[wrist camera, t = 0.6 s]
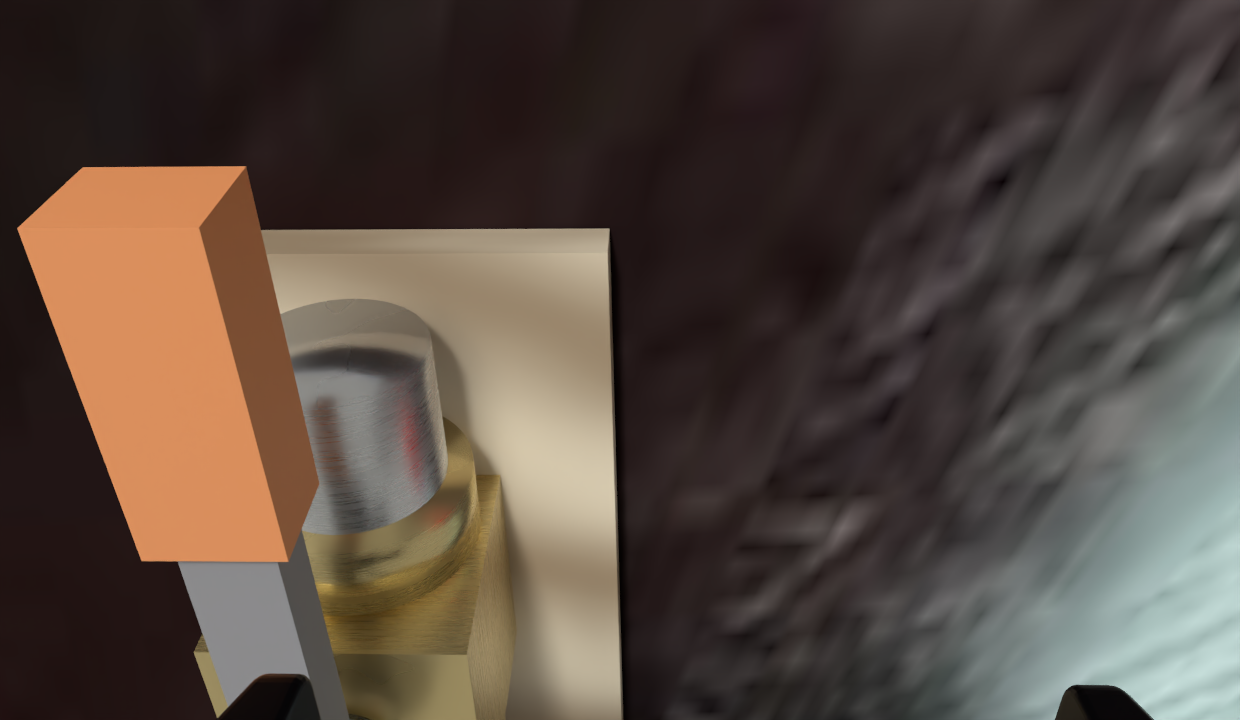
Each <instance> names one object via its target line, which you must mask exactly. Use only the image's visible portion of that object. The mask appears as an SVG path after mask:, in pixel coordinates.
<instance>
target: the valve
mask: <svg viewBox="0 0 1240 720" xmlns="http://www.w3.org/2000/svg"><path fill="white" fill-rule="evenodd" d="M280 315H281V319H282V324H283V328H284V332H285V337H286V341H287V345H288V350H289V354H290V358H291V362H292V367H293V371H294V375H295V380H296V384H297V388H298V393H299V397H300V401H301V406H302V410H303V414H304V419H305V423H306V427H307V431H308V436H309V440H310V444H311V449H312V453H313V457H314V462H315V466H316V470H317V475H318V479H319V483H320V484H319V486H318V489H317V491H316V494H315V496H314V499H313V501H312V504H311V506H310V509H309V511H308V514H307V517H306V519H305V522H304V524H303V527H302V533H303V536H304V540H305V544H306V548H307V552H308V556H309V560H310V564H311V568H312V572H313V576H314V580H315V584H316V588H317V592H318V596H319V600H320V604H321V608H322V612H323V616H324V620H325V624H326V628H327V632H328V636H329V640H330V644H331V648H332V651H333V655H334V659H335V663H336V667H337V671H338V675H339V679H340V683H341V687H342V691H343V695H344V699H345V703H346V707H347V711H348V715H349V719H350V720H506V718H505V713H506V706H507V699H508V692H509V685H510V678H511V670H512V663H513V656H514V649H515V642H516V635H517V627H516V617H515V608H514V599H513V589H512V580H511V571H510V561H509V552H508V543H507V533H506V524H505V515H504V505H503V496H502V487H501V477H500V475H475V467H474V459H473V452H472V449H471V446H470V443H469V441H468V440H467V438H466V436H465V435H464V433H463V432H462V431H461V430H460V429H459V428H458V427H457V426H456V425H455V424H454V423H452V422H451V421H450V420H448V419H446V418H445V417H442V412H441V405H440V398H439V391H438V383H437V376H436V369H435V362H434V355H433V348H432V341H431V335H430V331H429V329H428V327H427V325H426V323H425V322H424V321H423V320H422V319H421V318H420V317H419V316H418V315H416V314H415V313H414V312H412V311H410V310H408V309H406V308H404V307H401V306H399V305H396V304H392V303H389V302H384V301H379V300H370V299H340V300H330V301H324V302H318V303H314V304H309V305H305V306H302V307H298V308H295V309H292V310H289V311H287V312H284V313H282V314H280ZM194 654H195V657H196V660H197V663H198V665H199V668H200V671H201V674H202V676H203V679H204V682H205V685H206V688H207V690H208V693H209V696H210V699H211V701H212V704H213V707H214V710H215V713H216V715H217V718H218V717H219V716H220V715H221V714H222V713H223V712H224V711H225V710H226V709H227V708H228V705H227V702H226V699H225V696H224V693H223V690H222V688H221V685H220V682H219V679H218V676H217V673H216V670H215V668H214V665H213V662H212V659H211V656H210V653H209V650H208V647H207V645H206V642H205V639H204V636H203V633H202V635H201V638H200V640H199V642H198V644H197V646H196V649H195V651H194Z"/></svg>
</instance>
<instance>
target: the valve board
mask: <svg viewBox="0 0 1240 720" xmlns="http://www.w3.org/2000/svg"><path fill="white" fill-rule="evenodd" d="M261 233H262V237H263V242H264V246H265V250H266V255H267V259H268V263H269V268H270V272H271V276H272V281H273V285H274V289H275V293H276V298H277V302H278V306H279V311H280V314H282V313H284V312H287V311H289V310H292V309H295V308H298V307H302V306H305V305H309V304H314V303H318V302H324V301H330V300H340V299H370V300H379V301H384V302H389V303H392V304H396V305H399V306H401V307H404V308H406V309H408V310H410V311H412V312H414V313H415V314H416V315H418V316H419V317H420V318H421V319H422V320H423V321H424V322H425V323H426V325H427V327H428V329H429V331H430V335H431V341H432V348H433V355H434V362H435V369H436V376H437V383H438V391H439V398H440V405H441V412H442V417H445V418H446V419H448V420H450V421H451V422H452V423H454V424H455V425H456V426H457V427H458V428H459V429H460V430H461V431H462V432H463V433H464V435H465V436H466V438H467V440H468V441H469V443H470V446H471V449H472V452H473V459H474V467H475V475H500V477H501V487H502V496H503V505H504V515H505V524H506V533H507V543H508V552H509V561H510V571H511V580H512V589H513V599H514V608H515V617H516V627H517V635H516V642H515V649H514V656H513V663H512V670H511V678H510V685H509V692H508V699H507V706H506V713H505V718H506V720H623V691H622V655H621V619H620V584H619V548H618V512H617V476H616V440H615V404H614V368H613V332H612V296H611V261H610V229H405V230H261Z"/></svg>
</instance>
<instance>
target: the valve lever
mask: <svg viewBox="0 0 1240 720" xmlns="http://www.w3.org/2000/svg"><path fill="white" fill-rule="evenodd" d="M17 229H18V232H19V234H20V237H21V240H22V242H23V245H24V248H25V250H26V253H27V256H28V258H29V261H30V264H31V266H32V269H33V272H34V274H35V277H36V280H37V282H38V285H39V288H40V290H41V293H42V296H43V298H44V301H45V304H46V306H47V309H48V312H49V314H50V317H51V320H52V322H53V325H54V328H55V330H56V333H57V336H58V338H59V341H60V344H61V346H62V349H63V352H64V354H65V357H66V360H67V363H68V365H69V368H70V371H71V373H72V376H73V379H74V381H75V384H76V387H77V389H78V392H79V395H80V397H81V400H82V403H83V405H84V408H85V411H86V413H87V416H88V419H89V421H90V424H91V427H92V429H93V432H94V435H95V437H96V440H97V443H98V445H99V448H100V451H101V453H102V456H103V459H104V461H105V464H106V467H107V469H108V472H109V475H110V477H111V480H112V483H113V486H114V488H115V491H116V494H117V496H118V499H119V502H120V504H121V507H122V510H123V512H124V515H125V518H126V520H127V523H128V526H129V528H130V531H131V534H132V536H133V539H134V542H135V544H136V547H137V550H138V552H139V555H140V558H141V560H142V561H178V564H179V567H180V570H181V573H182V576H183V578H184V581H185V584H186V587H187V590H188V593H189V596H190V599H191V601H192V604H193V607H194V610H195V613H196V616H197V619H198V622H199V624H200V627H201V630H202V633H203V636H204V639H205V642H206V645H207V647H208V650H209V653H210V656H211V659H212V662H213V665H214V668H215V670H216V673H217V676H218V679H219V682H220V685H221V688H222V690H223V693H224V696H225V699H226V702H227V705H228V707H229V706H230V704H231V703H232V702H233V701H234V700H235V699H236V698H237V697H238V696H239V695H240V694H241V693H242V692H243V691H244V690H245V689H246V688H247V686H248V685H249V684H250V683H251V682H252V681H253V680H255V679H256V678H257V677H259V676H261V675H263V674H269V673H276V674H303V675H305V676H307V677H308V678H309V679H310V681H311V683H312V686H313V689H314V693H315V697H316V701H317V704H318V708H319V712H320V716H321V719H322V720H350V719H349V715H348V711H347V707H346V703H345V699H344V695H343V691H342V687H341V683H340V679H339V675H338V671H337V667H336V663H335V659H334V655H333V651H332V648H331V644H330V640H329V636H328V632H327V628H326V624H325V620H324V616H323V612H322V608H321V604H320V600H319V596H318V592H317V588H316V584H315V580H314V576H313V572H312V568H311V564H310V560H309V556H308V552H307V548H306V544H305V540H304V536H303V533H302V527H303V524H304V522H305V519H306V517H307V514H308V511H309V509H310V506H311V504H312V501H313V499H314V496H315V494H316V491H317V489H318V486H319V484H320V483H319V479H318V475H317V470H316V466H315V462H314V457H313V453H312V449H311V444H310V440H309V436H308V431H307V427H306V423H305V419H304V414H303V410H302V406H301V401H300V397H299V393H298V388H297V384H296V380H295V375H294V371H293V367H292V362H291V358H290V354H289V350H288V345H287V341H286V337H285V332H284V328H283V324H282V319H281V315H280V311H279V306H278V302H277V298H276V293H275V289H274V285H273V281H272V276H271V272H270V268H269V263H268V259H267V255H266V250H265V246H264V242H263V237H262V233H261V229H260V225H259V220H258V216H257V212H256V207H255V203H254V199H253V194H252V190H251V186H250V181H249V177H248V173H247V168H246V166H235V167H83V168H82V169H81V170H79V171H78V172H77V173H76V174H75V175H74V176H73V177H72V178H71V179H70V180H69V181H68V182H67V183H65V184H64V185H63V186H62V187H61V188H60V189H59V190H58V191H57V192H56V193H55V194H54V195H53V196H52V197H50V198H49V199H48V200H47V201H46V202H45V203H44V204H43V205H42V206H41V207H40V208H39V209H38V210H36V211H35V212H34V213H33V214H32V215H31V216H30V217H29V218H28V219H27V220H26V221H25V222H24V223H23V224H21V225H20V226H19V227H18V228H17Z"/></svg>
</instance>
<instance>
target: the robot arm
mask: <svg viewBox="0 0 1240 720" xmlns="http://www.w3.org/2000/svg"><path fill="white" fill-rule="evenodd" d="M216 720H322V719H321V716H320V712H319V708H318V704H317V701H316V697H315V693H314V689H313V686H312V683H311V681H310V679H309V678H308V677H307V676H305V675H303V674H276V673H269V674H263V675H261V676H259V677H257V678H256V679H255V680H253V681H252V682H251V683H250V684H249V685H248V686H247V688H246V689H245V690H244V691H243V692H242V693H241V694H240V695H239V696H238V697H237V698H236V699H235V700H234V701H233V702H232V703H231V704H230V706H229V707H228V708H227V709H226V710H225V711H224V712H223V713H222V714H221V715H220V716H219V717H218V718H217V719H216ZM1055 720H1154V719H1153V718H1152V717H1151V716H1150V715H1149V714H1148V713H1147V712H1146V711H1145V710H1144V709H1143V708H1142V707H1141V706H1140V705H1139V704H1138V703H1137V702H1136V701H1135V700H1134V699H1133V698H1131V697H1130V696H1129V695H1128V694H1127V693H1126V692H1125V691H1123V690H1121V689H1120V688H1118V687H1115V686H1109V685H1074V686H1071V687H1069V688H1068V689H1067V690H1066V691H1065V693H1064V695H1063V697H1062V700H1061V703H1060V706H1059V709H1058V712H1057V715H1056V718H1055Z"/></svg>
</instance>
